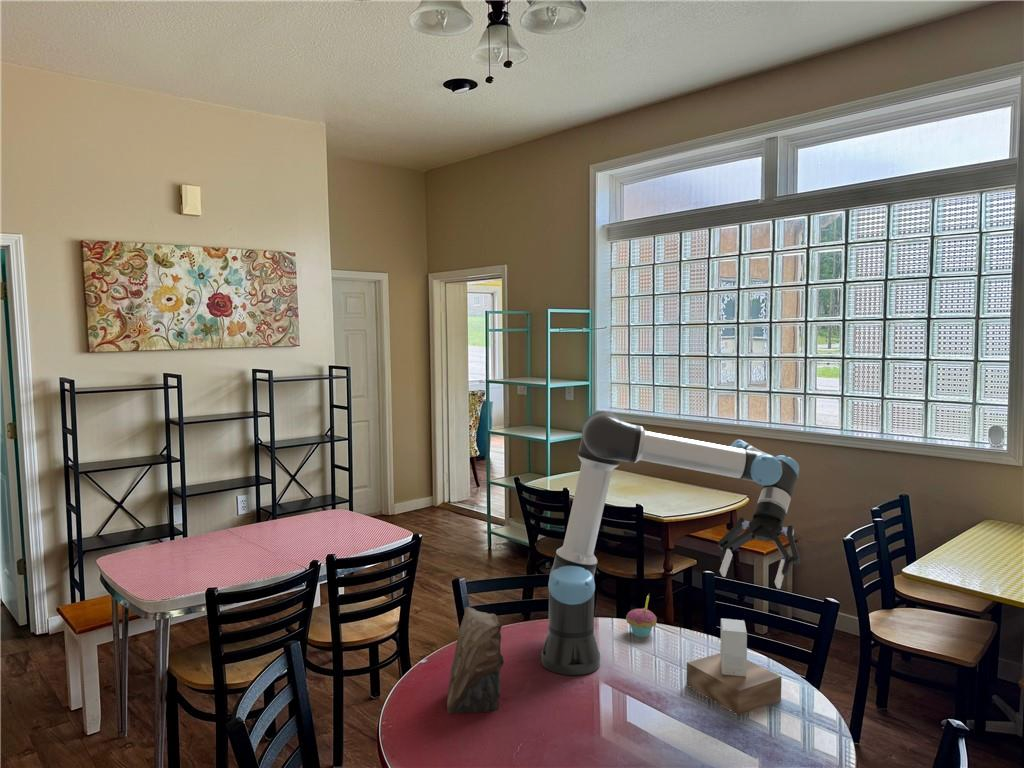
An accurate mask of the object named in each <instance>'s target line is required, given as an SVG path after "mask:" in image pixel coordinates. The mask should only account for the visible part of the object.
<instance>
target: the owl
mask: <svg viewBox="0 0 1024 768" xmlns="http://www.w3.org/2000/svg"><path fill="white" fill-rule="evenodd" d="M502 626H503V625H502V624H501V623H500V622H499V618H498V616H497V614H496V613H488V612H484V611H479V610H477V609H475V608H474V607H471V606H466V607H464V615H463V616H462V619H461V624H460V626H459V630H458V637H457V641H456V646H455V649H454V655H453V659H452V664H451V668H450V677H449V684H448V688H447V701H446V705H447V706H446V707H447V709H446V714H449V715H450V714H466V713H481V712H484V713H485V712H486V713H489V712H494V711H497V710H499V709H500V706H499V701H498V699H500V697H501V688H502V687H501V686H502V685H501V683H502V682H501V681H502V680H501V670H502V668H503V665H504V663H505V661H504V656H503V655H502V654H501V645H502V644H501V642H502V633H501V630H502Z"/></svg>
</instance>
